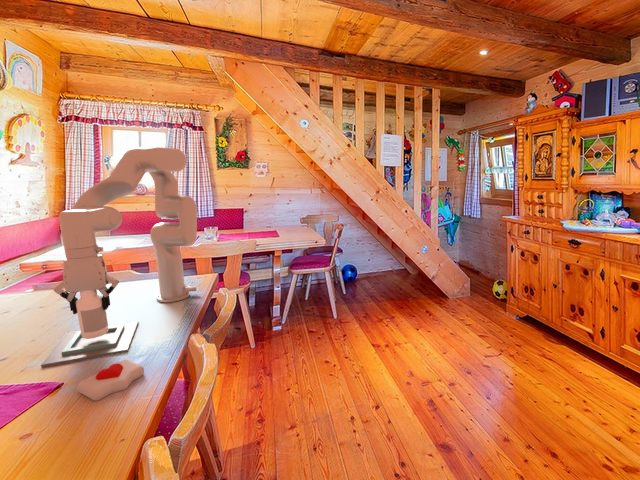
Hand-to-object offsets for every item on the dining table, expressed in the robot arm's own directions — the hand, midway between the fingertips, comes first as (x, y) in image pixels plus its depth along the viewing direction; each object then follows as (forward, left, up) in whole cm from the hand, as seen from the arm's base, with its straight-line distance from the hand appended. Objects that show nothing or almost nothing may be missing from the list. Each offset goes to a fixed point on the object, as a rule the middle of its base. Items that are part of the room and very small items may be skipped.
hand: (91, 309), depth 95 cm
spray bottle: (0, 0, -8) cm, 8 cm away
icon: (-10, +26, -11) cm, 30 cm away
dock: (0, 0, -11) cm, 11 cm away
